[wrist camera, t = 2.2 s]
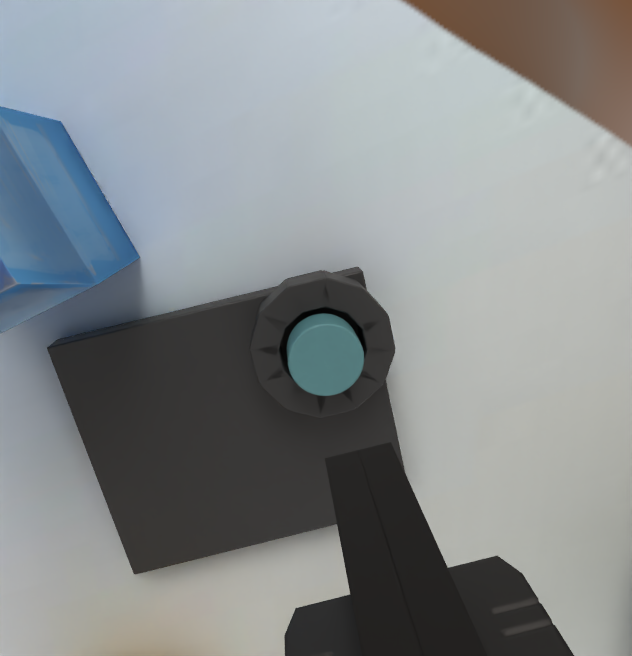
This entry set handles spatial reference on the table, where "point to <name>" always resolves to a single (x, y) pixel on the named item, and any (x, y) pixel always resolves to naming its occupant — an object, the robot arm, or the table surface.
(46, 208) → the perfume bottle
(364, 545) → the robot arm
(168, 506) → the scale
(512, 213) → the table surface
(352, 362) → the button
